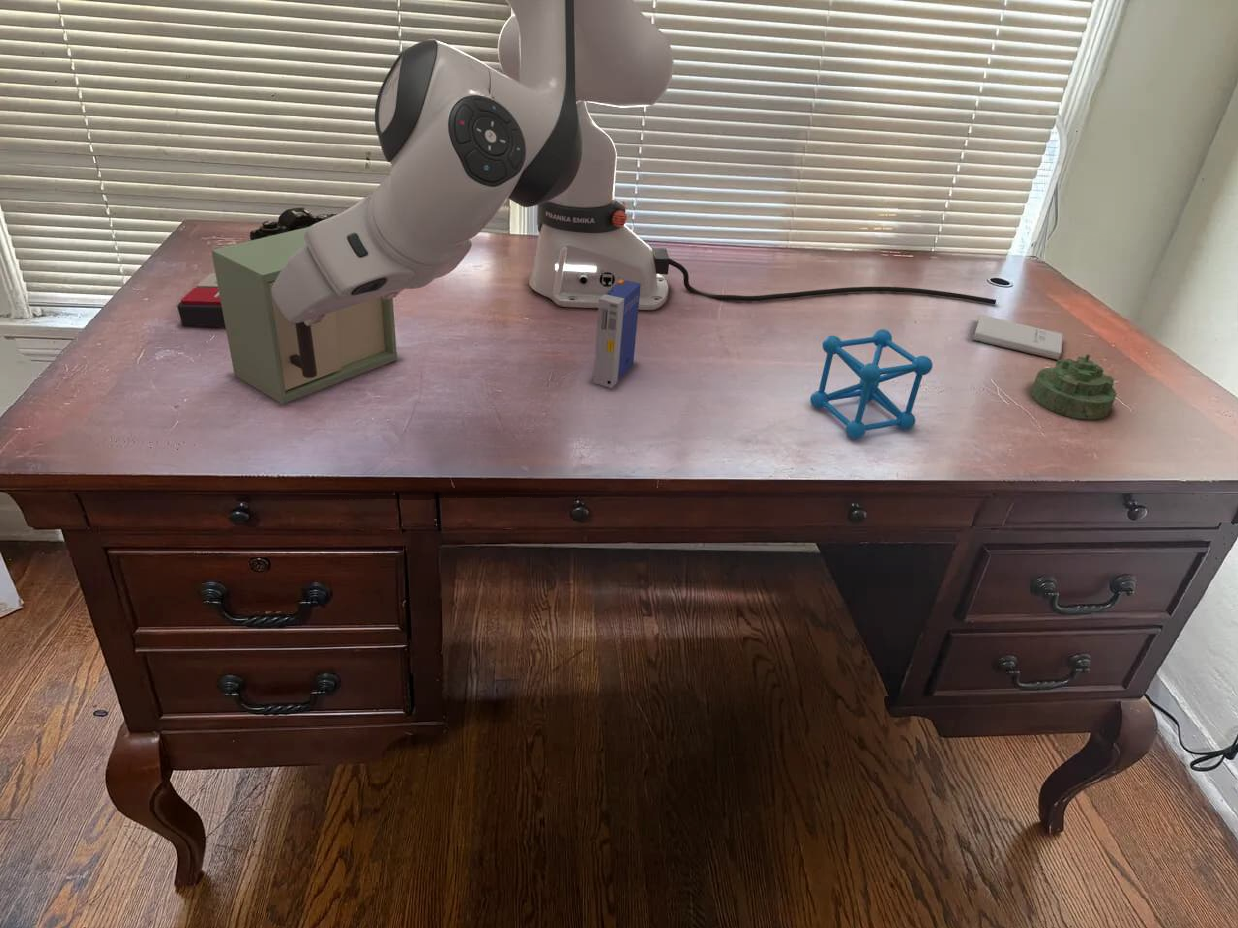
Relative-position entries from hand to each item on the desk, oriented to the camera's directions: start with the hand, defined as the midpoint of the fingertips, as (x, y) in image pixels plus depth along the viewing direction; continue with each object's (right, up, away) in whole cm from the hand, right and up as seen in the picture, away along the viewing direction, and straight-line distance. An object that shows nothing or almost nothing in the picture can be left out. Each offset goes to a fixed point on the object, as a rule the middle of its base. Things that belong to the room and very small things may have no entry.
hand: (347, 305), depth 89 cm
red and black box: (-24, +4, +32) cm, 40 cm away
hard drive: (+90, +2, +45) cm, 100 cm away
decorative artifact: (+90, -8, +29) cm, 95 cm away
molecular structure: (+59, -11, +20) cm, 63 cm away
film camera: (-22, +14, +47) cm, 54 cm away
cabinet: (-10, -4, +20) cm, 23 cm away
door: (-8, -7, +14) cm, 17 cm away
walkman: (+27, -5, +25) cm, 38 cm away
